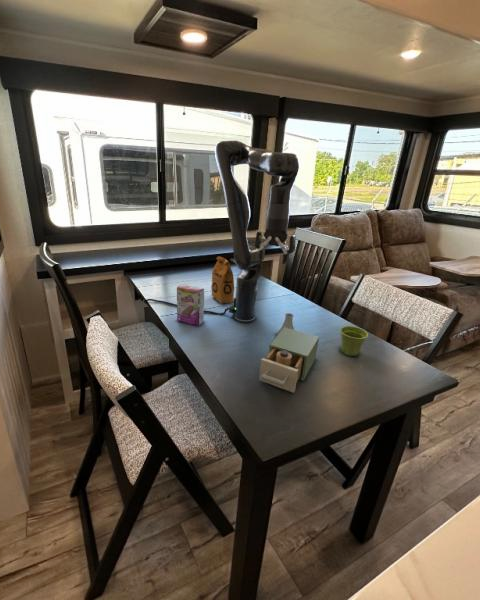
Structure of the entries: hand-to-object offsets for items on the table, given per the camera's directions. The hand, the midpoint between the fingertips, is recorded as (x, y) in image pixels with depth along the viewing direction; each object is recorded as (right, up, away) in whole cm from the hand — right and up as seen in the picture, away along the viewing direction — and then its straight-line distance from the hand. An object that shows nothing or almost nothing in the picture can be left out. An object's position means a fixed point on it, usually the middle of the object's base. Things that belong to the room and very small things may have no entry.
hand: (272, 261), depth 114 cm
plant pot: (+30, -34, +4) cm, 45 cm away
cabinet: (+6, -37, -4) cm, 37 cm away
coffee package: (-16, -14, +49) cm, 53 cm away
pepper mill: (0, -39, -14) cm, 41 cm away
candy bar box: (-32, -24, +25) cm, 47 cm away
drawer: (0, -40, -13) cm, 42 cm away
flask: (+8, -29, +14) cm, 34 cm away
